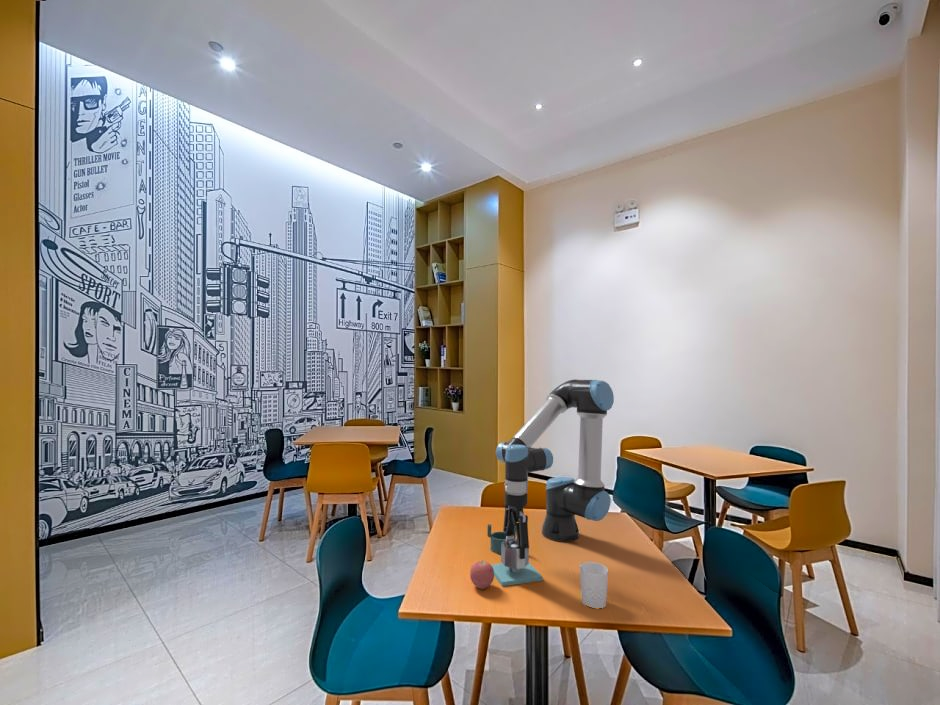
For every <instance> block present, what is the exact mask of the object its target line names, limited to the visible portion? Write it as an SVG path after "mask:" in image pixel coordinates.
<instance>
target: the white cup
mask: <svg viewBox="0 0 940 705" xmlns="http://www.w3.org/2000/svg"><path fill="white" fill-rule="evenodd" d="M579 572H580V574H579V577H580V592H581V602H582V604H583V605H584V604H585V605H584V606H586V605H587V606H590V607H593V608H602V607H604V608H605V607H606V606H607V596H608V595H607V594H608V581H609V580H608V579H609V578H608V577H609V569H608V567H607V566H606V565H604V564H602V563H600V562H599V563H598V562H595V561H584V562H582V563H580V565H579ZM587 606H586V607H587ZM602 609H603V608H602Z"/></svg>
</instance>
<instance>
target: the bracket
mask: <svg viewBox="0 0 940 705" xmlns="http://www.w3.org/2000/svg"><path fill="white" fill-rule="evenodd" d="M514 533H515V535H512V536H514V539H517V535H516V528H514ZM486 534H487V537H488V538H490V551H491V552H492V553H494V554H496V555H497V554H498V555H501V543H502V542H503V541H504V540H506V535H505V532H504V531H493V532H492V524H487V533H486Z"/></svg>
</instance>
